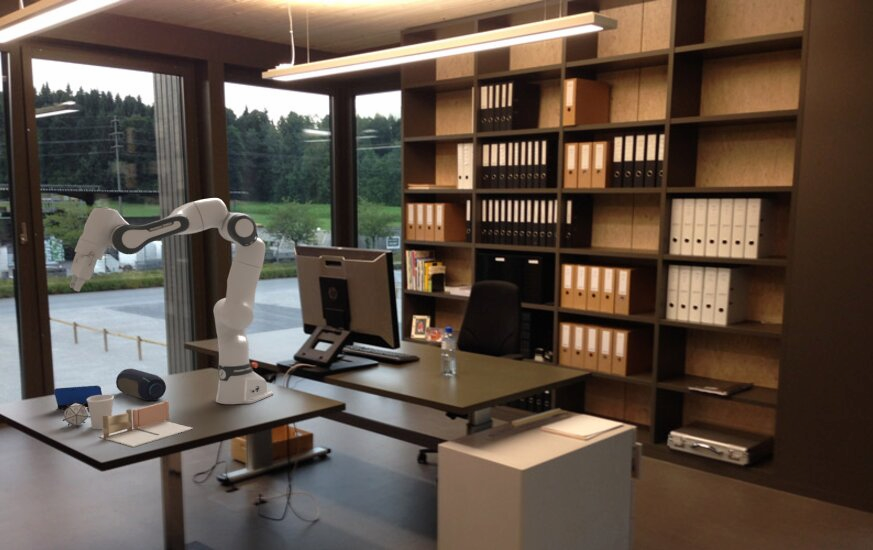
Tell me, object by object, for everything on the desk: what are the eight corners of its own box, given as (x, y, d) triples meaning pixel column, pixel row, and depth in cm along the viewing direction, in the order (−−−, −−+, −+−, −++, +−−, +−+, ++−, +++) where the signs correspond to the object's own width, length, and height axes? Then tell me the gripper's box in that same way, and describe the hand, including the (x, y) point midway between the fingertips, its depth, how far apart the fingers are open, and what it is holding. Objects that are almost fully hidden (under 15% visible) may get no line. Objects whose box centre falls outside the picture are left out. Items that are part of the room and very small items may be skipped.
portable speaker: (112, 394, 285) (111, 369, 284) (136, 389, 293) (135, 365, 292) (145, 405, 269) (144, 378, 268) (169, 399, 277) (168, 374, 276)
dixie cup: (105, 431, 237) (103, 401, 236) (82, 429, 238) (80, 400, 237) (120, 423, 245) (119, 395, 244) (98, 422, 246) (97, 393, 245)
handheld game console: (108, 400, 275) (107, 377, 274) (101, 410, 262) (100, 385, 262) (63, 403, 271) (62, 379, 270) (54, 413, 258) (53, 388, 258)
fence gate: (135, 429, 237) (134, 410, 236) (132, 428, 238) (131, 409, 237) (170, 419, 248) (169, 401, 247) (167, 418, 249) (166, 400, 248)
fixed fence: (130, 430, 237) (129, 408, 236) (133, 430, 236) (132, 409, 236) (102, 438, 229) (101, 416, 228) (105, 438, 228) (104, 416, 227)
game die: (74, 435, 244) (72, 408, 249) (97, 426, 244) (95, 399, 248) (56, 429, 236) (55, 401, 241) (79, 420, 236) (78, 393, 240)
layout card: (158, 420, 249) (158, 419, 249) (192, 429, 239) (192, 427, 239) (99, 437, 230) (99, 435, 230) (133, 447, 220) (133, 445, 220)
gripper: (104, 256, 237) (88, 295, 236) (94, 252, 254) (79, 289, 253) (85, 249, 234) (68, 289, 232) (75, 246, 251) (60, 283, 249)
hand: (74, 289), depth 243 cm, fingers open, 8 cm apart
